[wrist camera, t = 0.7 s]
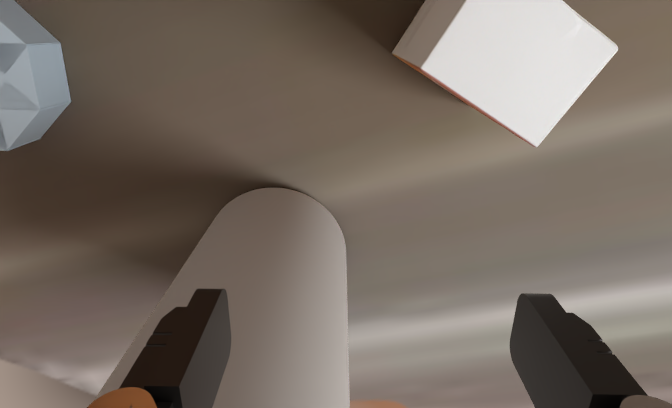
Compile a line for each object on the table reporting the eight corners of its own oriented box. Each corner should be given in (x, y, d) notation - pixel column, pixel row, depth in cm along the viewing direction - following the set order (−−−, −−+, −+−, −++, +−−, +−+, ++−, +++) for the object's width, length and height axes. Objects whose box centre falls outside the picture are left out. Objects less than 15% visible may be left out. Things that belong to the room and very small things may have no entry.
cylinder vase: (257, 325, 44) (164, 657, 21) (182, 224, 40) (-37, 494, 17) (369, 272, 42) (406, 579, 18) (301, 159, 38) (238, 369, 15)
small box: (389, 54, 35) (415, 68, 23) (438, -24, 33) (496, -54, 21) (472, 109, 36) (538, 151, 24) (524, 39, 34) (624, 45, 22)
